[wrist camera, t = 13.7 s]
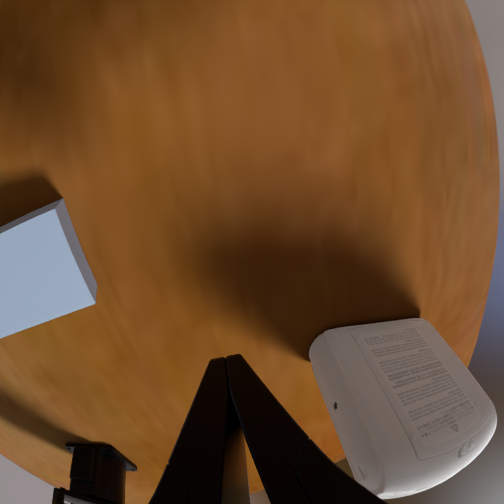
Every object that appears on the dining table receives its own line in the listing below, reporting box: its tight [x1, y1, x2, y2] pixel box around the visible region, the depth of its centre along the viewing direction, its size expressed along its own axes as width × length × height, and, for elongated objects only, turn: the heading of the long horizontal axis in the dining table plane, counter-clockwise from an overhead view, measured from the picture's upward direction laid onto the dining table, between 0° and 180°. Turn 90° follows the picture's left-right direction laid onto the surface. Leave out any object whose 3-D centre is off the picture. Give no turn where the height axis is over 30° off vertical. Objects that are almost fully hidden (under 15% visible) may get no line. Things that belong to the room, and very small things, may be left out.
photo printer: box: [309, 318, 497, 499], centre depth 15 cm, size 10×4×12 cm, turn 85°
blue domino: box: [0, 199, 97, 338], centre depth 11 cm, size 5×2×10 cm
